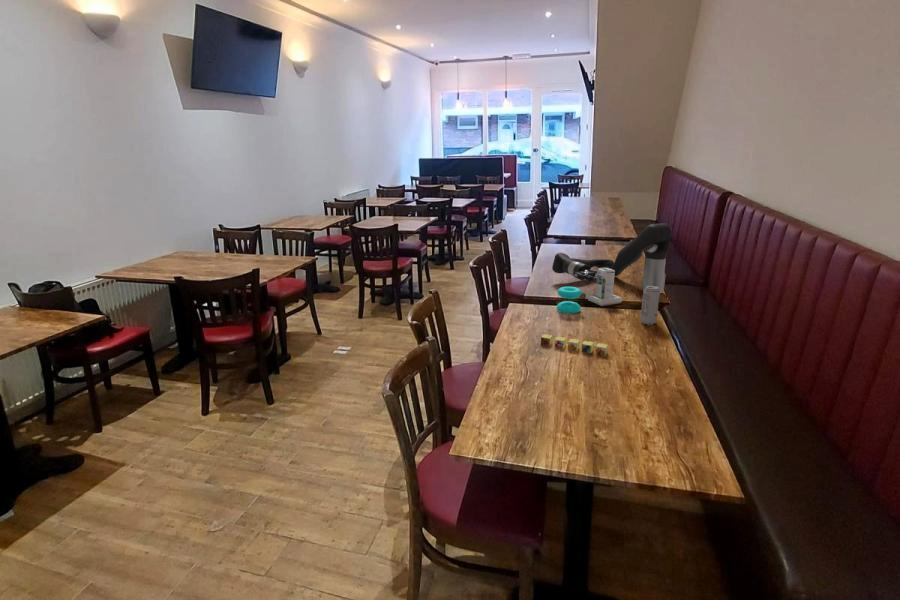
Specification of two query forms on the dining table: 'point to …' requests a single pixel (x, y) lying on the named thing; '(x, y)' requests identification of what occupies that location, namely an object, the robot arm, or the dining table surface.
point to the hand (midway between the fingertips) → (600, 278)
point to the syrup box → (605, 283)
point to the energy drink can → (650, 305)
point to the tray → (603, 302)
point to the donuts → (569, 294)
